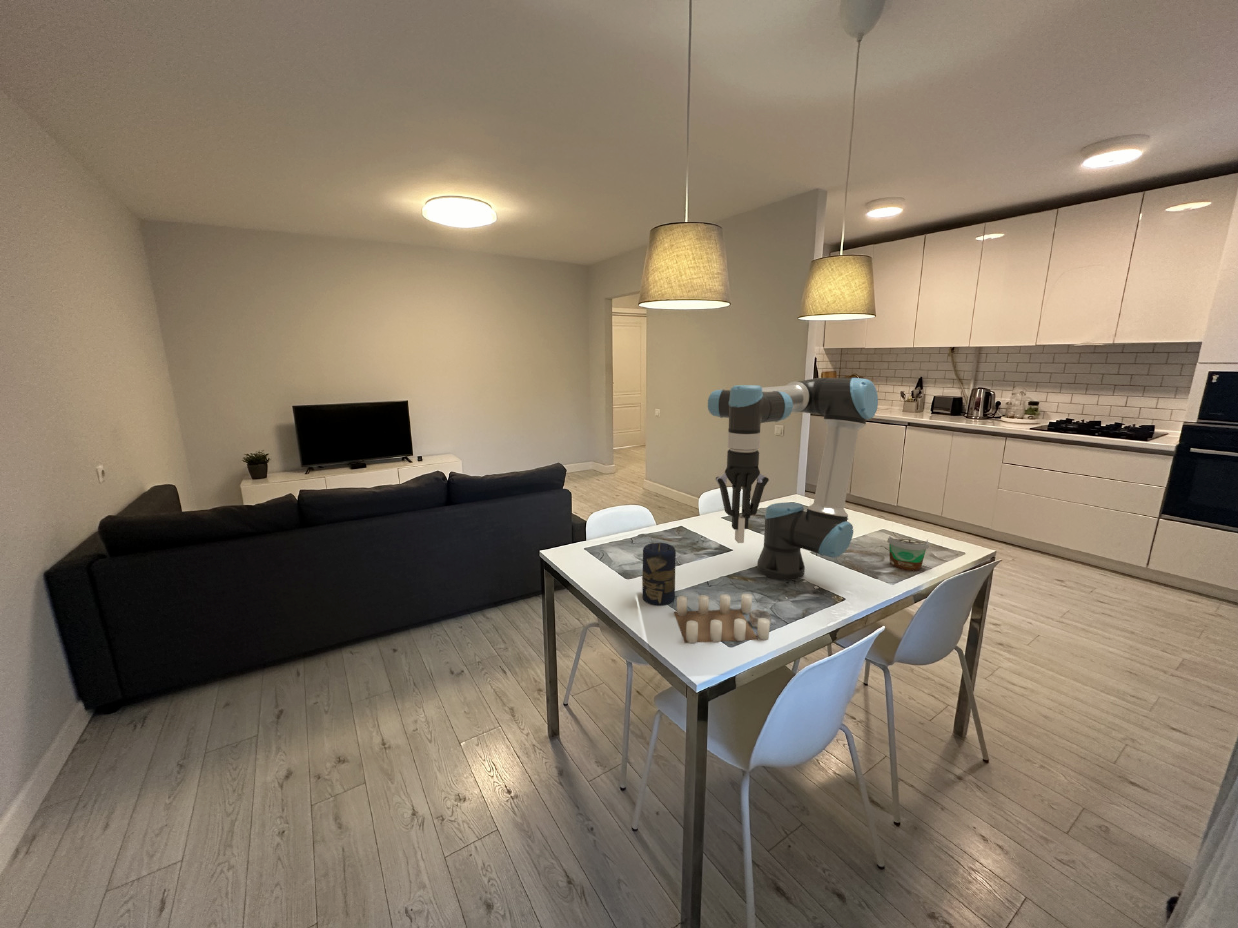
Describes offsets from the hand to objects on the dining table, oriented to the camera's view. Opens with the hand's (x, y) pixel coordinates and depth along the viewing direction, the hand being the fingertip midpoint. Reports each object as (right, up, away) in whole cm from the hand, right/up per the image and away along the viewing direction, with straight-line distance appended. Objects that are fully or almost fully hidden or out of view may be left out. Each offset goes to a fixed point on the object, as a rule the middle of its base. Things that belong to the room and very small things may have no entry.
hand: (739, 540), depth 121 cm
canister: (-19, -21, +19) cm, 34 cm away
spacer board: (-2, -24, +5) cm, 24 cm away
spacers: (-4, -23, +4) cm, 23 cm away
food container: (+67, -16, +40) cm, 80 cm away
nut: (+7, -23, +5) cm, 24 cm away
